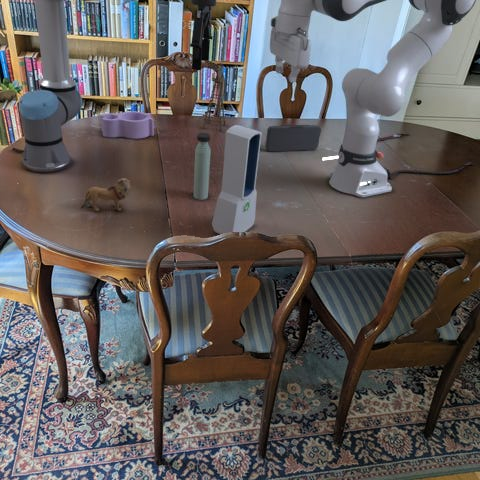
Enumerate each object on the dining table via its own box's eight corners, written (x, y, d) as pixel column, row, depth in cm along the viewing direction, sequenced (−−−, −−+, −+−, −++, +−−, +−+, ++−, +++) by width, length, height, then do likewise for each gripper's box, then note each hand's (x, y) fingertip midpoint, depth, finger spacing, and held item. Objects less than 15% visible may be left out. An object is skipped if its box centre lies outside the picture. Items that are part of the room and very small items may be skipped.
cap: (207, 137, 142) (207, 132, 141) (211, 141, 139) (212, 136, 138) (195, 138, 141) (195, 133, 140) (199, 142, 138) (200, 137, 137)
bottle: (204, 192, 153) (208, 133, 142) (210, 198, 149) (213, 138, 139) (191, 194, 151) (193, 134, 140) (196, 200, 148) (199, 139, 137)
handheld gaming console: (315, 147, 196) (319, 124, 190) (317, 149, 194) (322, 126, 188) (264, 149, 189) (267, 125, 183) (266, 152, 187) (269, 127, 181)
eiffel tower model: (220, 131, 201) (226, 58, 185) (202, 128, 202) (205, 55, 186) (225, 124, 209) (231, 54, 193) (207, 122, 210) (211, 51, 194)
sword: (406, 132, 223) (406, 130, 222) (411, 134, 221) (412, 132, 220) (362, 144, 207) (363, 141, 206) (368, 146, 205) (368, 143, 204)
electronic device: (232, 242, 129) (242, 138, 113) (210, 232, 132) (217, 130, 116) (255, 224, 138) (267, 126, 122) (233, 216, 141) (243, 119, 125)
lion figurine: (130, 201, 143) (129, 174, 138) (133, 209, 139) (132, 182, 134) (79, 205, 138) (76, 178, 133) (81, 214, 134) (78, 186, 129)
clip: (103, 139, 182) (102, 122, 178) (101, 128, 192) (100, 111, 188) (155, 138, 188) (155, 121, 184) (150, 127, 198) (149, 111, 194)
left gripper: (209, -5, 127) (205, 75, 138) (223, -12, 148) (218, 58, 159) (181, -8, 127) (180, 72, 139) (199, -15, 148) (197, 55, 160)
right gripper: (320, 33, 120) (310, 87, 127) (288, 19, 136) (281, 68, 143) (298, 32, 118) (289, 87, 125) (268, 18, 134) (262, 68, 141)
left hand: (200, 65), depth 149 cm, fingers open, 13 cm apart
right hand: (285, 77), depth 134 cm, fingers open, 8 cm apart
